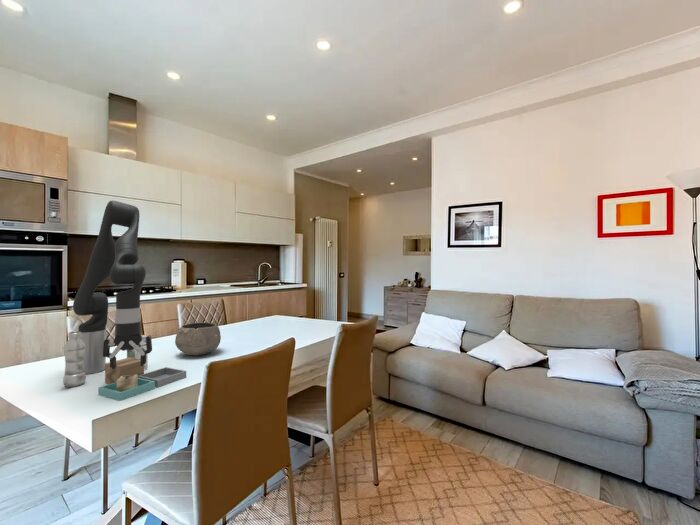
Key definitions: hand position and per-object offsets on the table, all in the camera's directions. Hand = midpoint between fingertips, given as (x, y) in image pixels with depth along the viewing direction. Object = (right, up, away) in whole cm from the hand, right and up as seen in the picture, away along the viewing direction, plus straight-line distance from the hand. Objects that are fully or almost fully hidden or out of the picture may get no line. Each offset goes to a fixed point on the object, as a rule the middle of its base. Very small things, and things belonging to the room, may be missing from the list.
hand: (128, 367), depth 116 cm
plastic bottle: (-25, -9, +7) cm, 27 cm away
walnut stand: (-8, -9, +10) cm, 16 cm away
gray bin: (+5, -9, +12) cm, 16 cm away
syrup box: (-14, -10, +26) cm, 31 cm away
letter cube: (0, -9, 0) cm, 9 cm away
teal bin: (0, -9, 0) cm, 9 cm away
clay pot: (+1, -10, +51) cm, 52 cm away
